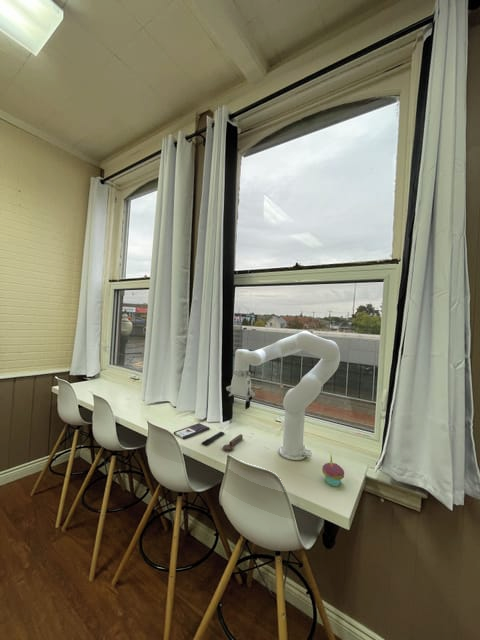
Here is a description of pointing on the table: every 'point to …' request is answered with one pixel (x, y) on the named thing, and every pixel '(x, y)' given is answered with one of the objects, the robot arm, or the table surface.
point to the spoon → (232, 443)
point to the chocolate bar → (191, 430)
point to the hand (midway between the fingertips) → (239, 406)
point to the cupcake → (333, 473)
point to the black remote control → (212, 438)
